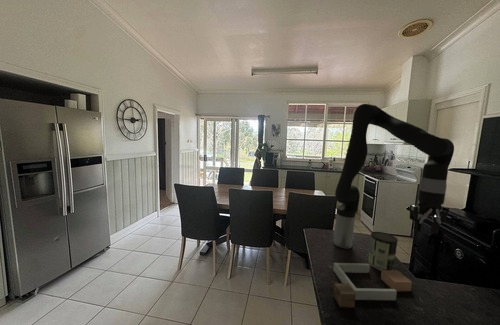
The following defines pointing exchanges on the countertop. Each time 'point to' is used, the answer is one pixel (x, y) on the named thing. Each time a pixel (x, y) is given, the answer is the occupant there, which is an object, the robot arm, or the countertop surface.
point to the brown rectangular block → (396, 280)
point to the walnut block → (344, 295)
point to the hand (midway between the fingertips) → (425, 231)
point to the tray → (362, 292)
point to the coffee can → (382, 251)
